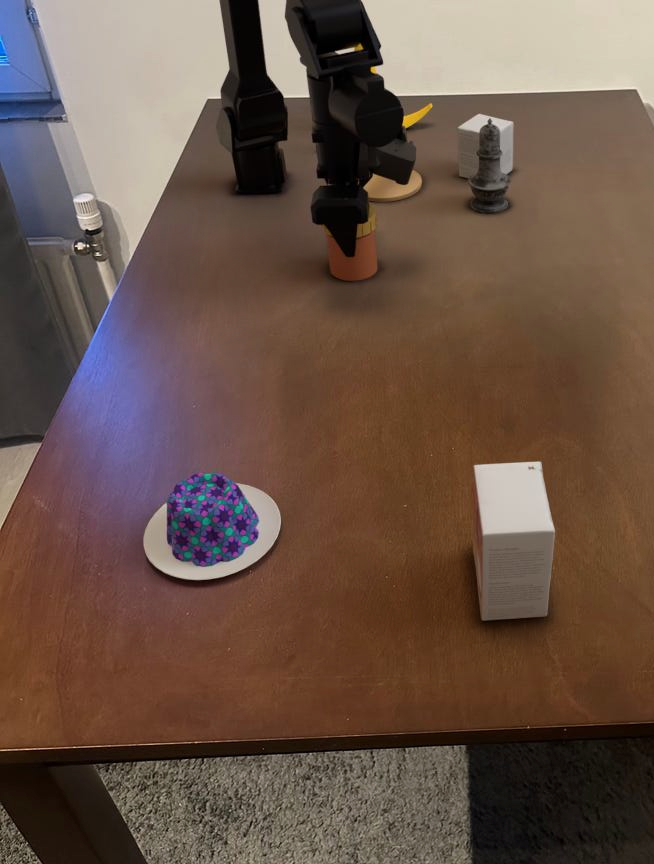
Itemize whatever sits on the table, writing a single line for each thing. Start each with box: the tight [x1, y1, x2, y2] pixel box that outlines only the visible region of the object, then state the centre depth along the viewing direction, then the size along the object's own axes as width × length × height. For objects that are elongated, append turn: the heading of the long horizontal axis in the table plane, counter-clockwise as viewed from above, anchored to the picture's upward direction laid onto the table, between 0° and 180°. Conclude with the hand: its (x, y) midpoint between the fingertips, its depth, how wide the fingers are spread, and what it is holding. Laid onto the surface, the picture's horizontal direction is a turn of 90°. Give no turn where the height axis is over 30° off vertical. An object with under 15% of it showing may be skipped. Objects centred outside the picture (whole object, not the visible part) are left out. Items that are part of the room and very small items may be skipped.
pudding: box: [143, 472, 282, 581], centre depth 78 cm, size 12×12×5 cm
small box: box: [472, 461, 556, 622], centre depth 72 cm, size 8×6×10 cm
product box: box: [456, 113, 514, 179], centre depth 130 cm, size 6×6×7 cm
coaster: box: [363, 169, 423, 203], centre depth 130 cm, size 11×11×1 cm
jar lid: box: [320, 201, 378, 238], centre depth 108 cm, size 7×7×2 cm
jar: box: [325, 228, 379, 282], centre depth 110 cm, size 6×6×7 cm
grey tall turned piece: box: [467, 118, 512, 214], centre depth 121 cm, size 6×6×12 cm
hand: (352, 243), depth 111 cm, fingers closed on jar lid, 6 cm apart
